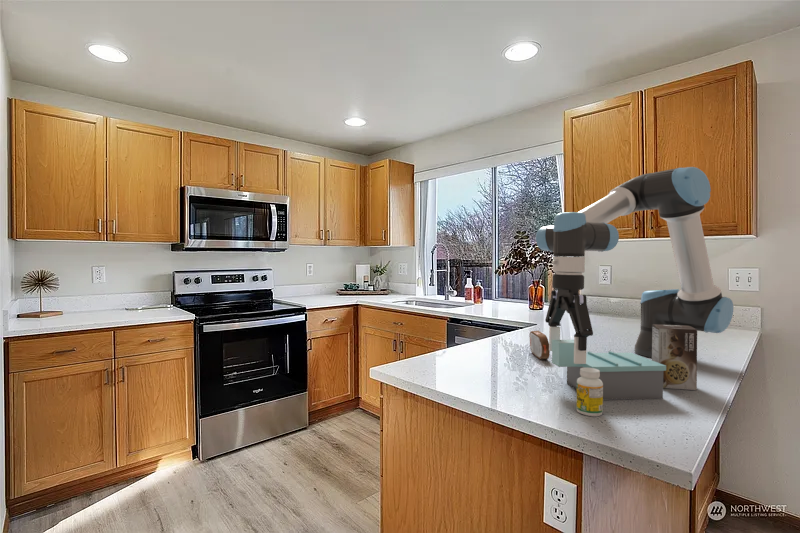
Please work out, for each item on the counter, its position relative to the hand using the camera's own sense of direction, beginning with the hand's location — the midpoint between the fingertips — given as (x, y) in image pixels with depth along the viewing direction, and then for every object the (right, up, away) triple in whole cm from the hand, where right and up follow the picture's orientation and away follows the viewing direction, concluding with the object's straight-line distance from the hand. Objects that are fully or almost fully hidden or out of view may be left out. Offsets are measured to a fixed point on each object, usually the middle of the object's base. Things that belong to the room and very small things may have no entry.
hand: (566, 356), depth 108 cm
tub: (+12, -9, +1) cm, 15 cm away
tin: (+5, -8, +38) cm, 39 cm away
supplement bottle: (0, -10, -14) cm, 17 cm away
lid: (+10, -2, +1) cm, 10 cm away
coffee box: (+31, -9, +6) cm, 33 cm away
